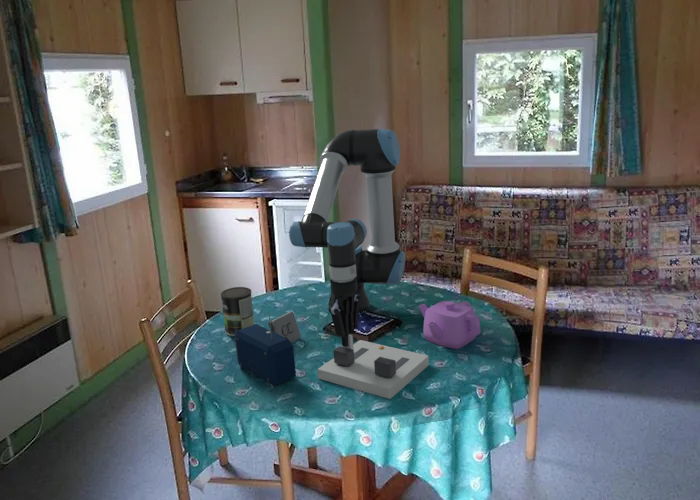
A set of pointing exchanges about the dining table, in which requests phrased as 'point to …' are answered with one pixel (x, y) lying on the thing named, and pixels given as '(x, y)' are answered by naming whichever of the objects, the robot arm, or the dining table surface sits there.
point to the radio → (265, 354)
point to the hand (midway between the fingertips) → (348, 354)
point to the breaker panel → (364, 370)
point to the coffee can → (237, 309)
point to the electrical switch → (286, 326)
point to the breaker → (385, 367)
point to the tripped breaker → (344, 356)
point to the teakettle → (450, 324)
